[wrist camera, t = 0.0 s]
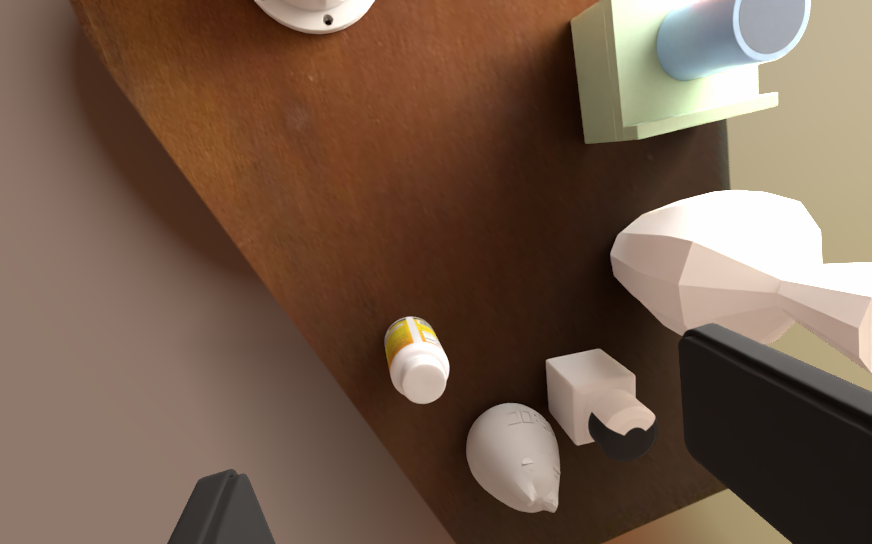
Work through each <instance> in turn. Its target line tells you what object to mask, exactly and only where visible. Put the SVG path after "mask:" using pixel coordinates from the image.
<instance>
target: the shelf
mask: <svg viewBox="0 0 872 544" xmlns="http://www.w3.org/2000/svg"><path fill="white" fill-rule="evenodd" d="M686 1H688V0H600V1H599V2H597V3H596V4H594V5H592V6H591V7H589V8H588V9H586V10H585V11H583V12H582V13H580V14H579V15H577V16H576V17H574V18H573V19H571V29H572V37H573V46H574V54H575V63H576V71H577V80H578V88H579V97H580V105H581V113H582V122H583V130H584V139H585V144H591V143H603V142H615V141H627V140H638V139H643V138H647V137H651V136H655V135H659V134H663V133H668V132H672V131H676V130H680V129H684V128H688V127H692V126H697V125H701V124H705V123H709V122H713V121H717V120H721V119H726V118H730V117H734V116H738V115H742V114H746V113H750V112H755V111H759V110H763V109H767V108H771V107H775V106H777V105H778V93H777V92H776V93H769V94H763V95H758V65H754V66H749V67H745V68H741V69H737V70H733V71H729V72H725V73H721V74H717V75H713V76H709V77H704V78H700V79H696V80H692V81H679V80H676V79H674V78H672V77H670V76H669V75H668V74H667V73H666V72H665V71H664V70H663V68H662V67H661V65H660V62H659V60H658V56H657V50H656V43H657V36H658V32H659V28H660V26H661V24H662V22H663V20H664V19H665V17H666V16H667V14H668V13H669V12H670V11H671V10H672V9H674V8H675V7H676V6H678V5H680V4H682V3H684V2H686Z"/></svg>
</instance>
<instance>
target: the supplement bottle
mask: <svg viewBox="0 0 872 544" xmlns="http://www.w3.org/2000/svg"><path fill="white" fill-rule="evenodd" d="M384 344H385V351H386V356H387V361H388V366H389V371H390V376H391V380H392V383H393V385H394V386H395V388H396V389H397V390H398V391H399V392H400V393H401V394H403V395H405V396H406V397H407V398H408V399H409V400H411V401H412V402H414V403H418V404H426V403H430V402H433V401H435V400H436V399H438V398H439V397H440V396H441V395H442V393H443V392H444V390H445V387H446V381H447V378H448V375H449V362H448V359H447V356H446V354H445V352H444V350H443V349H442V347H441V345H440V343H439V341H438V339H437V337H436V335H435V333H434V330H433V329H432V327H431V326H430V325H429V324H428V323H427V322H426V321H424V320H423V319H420V318H417V317H405V318H402V319H399V320H397V321H396V322H394V323H393V324H392V325H391V326H390V328H389V329H388V331H387V333H386V335H385V341H384Z"/></svg>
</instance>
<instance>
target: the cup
mask: <svg viewBox="0 0 872 544" xmlns="http://www.w3.org/2000/svg"><path fill="white" fill-rule="evenodd" d="M810 5H811V2H810V0H688V1H686V2H684V3H682V4H680V5H678V6H676V7H675V8H674V9H672V10H671V11H670V12H669V13H668V14H667V16H666V17H665V19H664V20H663V22H662V24H661V26H660V28H659V32H658V36H657V43H656V50H657V56H658V60H659V62H660V65H661V67H662V68H663V70H664V71H665V72H666V73H667V74H668V75H669V76H670V77H672V78H674V79H676V80H679V81H692V80H696V79H700V78H704V77H709V76H713V75H717V74H721V73H725V72H729V71H733V70H737V69H741V68H745V67H749V66H754V65H758V64H762V63H766V62H770V61H774V60H776V59H779V58H781V57H782V56H784V55H786V54H787V53H788V52H789V51H791V50H792V48H793V47H794V46H795V45H796V44H797V43H798V41H799V40H800V38H801V37H802V35H803V33H804V31H805V28H806V26H807V23H808V19H809V14H810Z"/></svg>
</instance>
